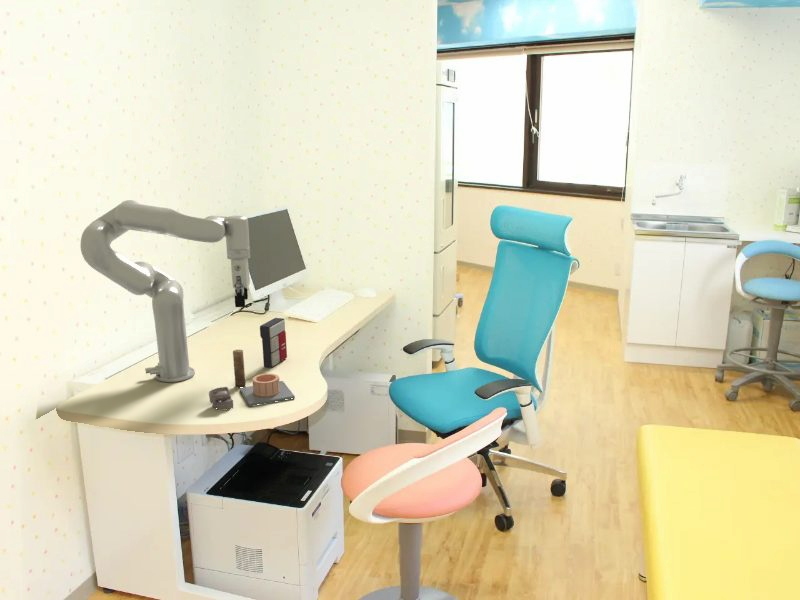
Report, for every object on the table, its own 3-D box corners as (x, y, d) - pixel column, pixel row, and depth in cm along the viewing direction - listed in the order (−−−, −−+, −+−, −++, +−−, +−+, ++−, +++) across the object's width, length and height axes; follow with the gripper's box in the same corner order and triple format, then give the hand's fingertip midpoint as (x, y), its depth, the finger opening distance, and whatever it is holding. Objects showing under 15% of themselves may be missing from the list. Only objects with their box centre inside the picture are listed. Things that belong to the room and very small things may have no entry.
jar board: (249, 406, 214) (248, 389, 212) (240, 390, 226) (238, 374, 225) (294, 398, 219) (293, 381, 218) (282, 383, 232) (281, 367, 230)
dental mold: (210, 402, 218) (209, 387, 217) (233, 399, 220) (232, 384, 218) (209, 412, 210) (208, 396, 209) (233, 410, 212) (232, 394, 211)
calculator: (273, 368, 246) (270, 327, 242) (262, 367, 247) (259, 325, 243) (288, 358, 256) (286, 318, 252) (278, 357, 257) (275, 317, 253)
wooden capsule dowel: (236, 388, 228) (233, 353, 225) (234, 385, 231) (231, 350, 228) (246, 387, 229) (243, 351, 226) (244, 383, 232) (241, 349, 229)
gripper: (247, 258, 228) (250, 309, 232) (252, 248, 244) (255, 296, 249) (223, 258, 227) (227, 310, 231) (229, 248, 243) (233, 297, 248)
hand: (241, 303), depth 240 cm, fingers open, 9 cm apart
